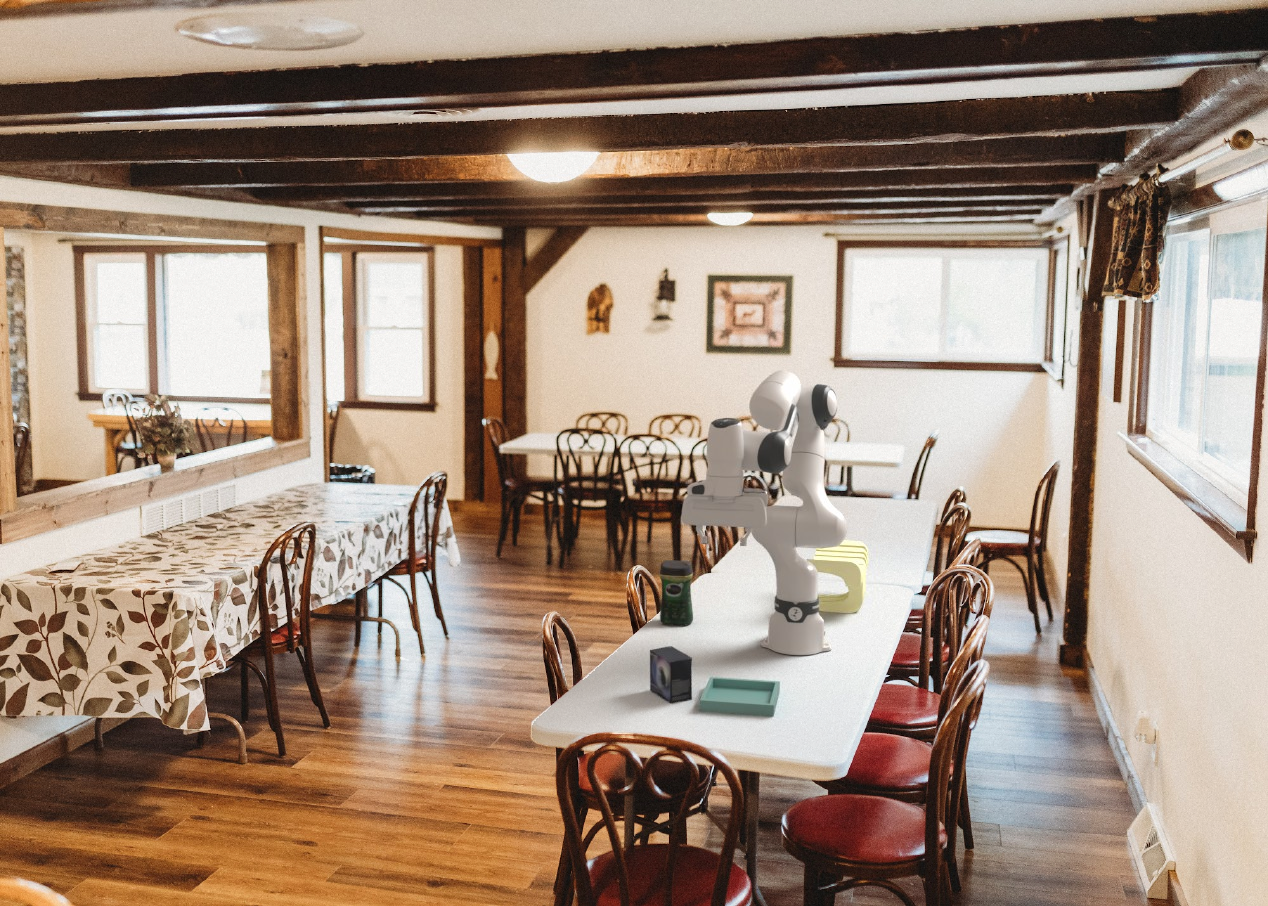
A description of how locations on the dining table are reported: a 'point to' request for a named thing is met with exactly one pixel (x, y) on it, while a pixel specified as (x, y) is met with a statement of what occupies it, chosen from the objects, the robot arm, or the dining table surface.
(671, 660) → the small box
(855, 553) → the slatted curved stool
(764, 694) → the teal tray
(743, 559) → the dining table surface
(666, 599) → the coffee jar
